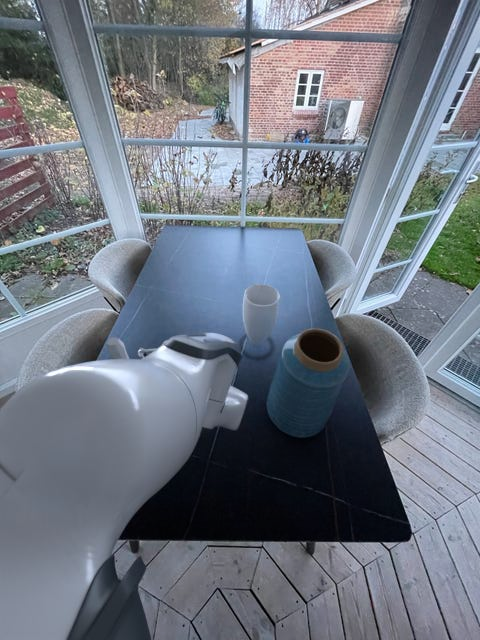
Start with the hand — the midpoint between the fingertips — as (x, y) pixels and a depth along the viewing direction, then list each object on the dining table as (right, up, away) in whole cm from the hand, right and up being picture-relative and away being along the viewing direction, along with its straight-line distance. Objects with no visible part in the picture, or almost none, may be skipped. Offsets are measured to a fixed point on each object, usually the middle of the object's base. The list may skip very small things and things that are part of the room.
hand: (127, 366), depth 62 cm
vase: (+42, -13, +9) cm, 44 cm away
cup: (+32, +2, +23) cm, 40 cm away
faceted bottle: (-1, -9, +10) cm, 14 cm away
